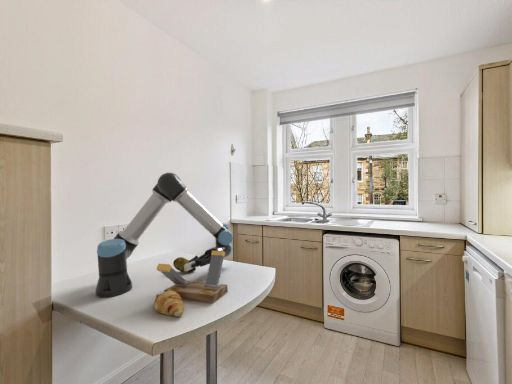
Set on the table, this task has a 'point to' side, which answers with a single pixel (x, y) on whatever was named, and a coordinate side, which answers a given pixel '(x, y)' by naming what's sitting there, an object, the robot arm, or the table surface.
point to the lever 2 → (214, 269)
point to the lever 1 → (171, 274)
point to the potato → (182, 265)
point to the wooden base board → (199, 291)
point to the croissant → (169, 303)
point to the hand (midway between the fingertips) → (185, 268)
